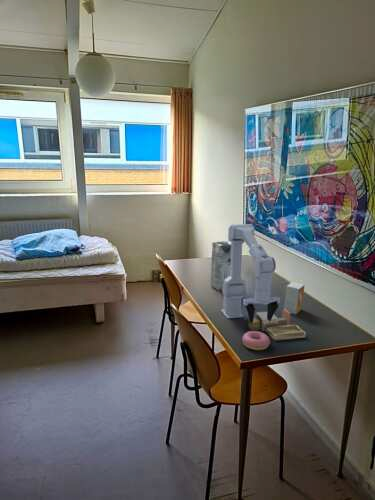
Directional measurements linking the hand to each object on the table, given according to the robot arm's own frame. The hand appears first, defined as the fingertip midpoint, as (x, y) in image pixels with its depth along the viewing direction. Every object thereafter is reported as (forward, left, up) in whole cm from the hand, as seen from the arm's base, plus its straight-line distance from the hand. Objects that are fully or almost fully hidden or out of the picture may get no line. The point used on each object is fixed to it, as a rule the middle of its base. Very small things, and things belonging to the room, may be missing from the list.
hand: (260, 320), depth 142 cm
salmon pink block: (-13, +16, -10) cm, 23 cm away
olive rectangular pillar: (-13, +7, -10) cm, 18 cm away
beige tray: (-5, +15, -10) cm, 19 cm away
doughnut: (0, -1, -10) cm, 11 cm away
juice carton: (-63, +6, -10) cm, 64 cm away
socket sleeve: (-13, +10, -10) cm, 20 cm away
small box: (-27, +31, -10) cm, 42 cm away
